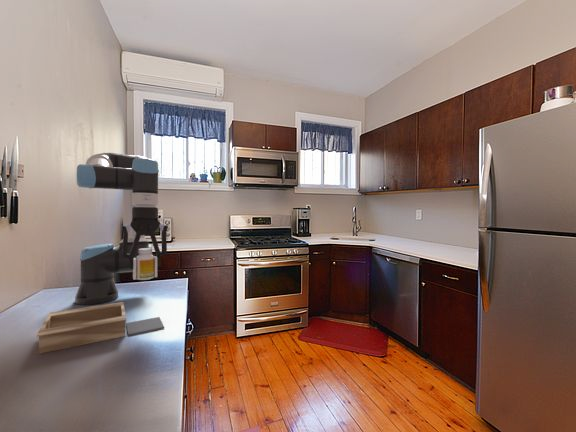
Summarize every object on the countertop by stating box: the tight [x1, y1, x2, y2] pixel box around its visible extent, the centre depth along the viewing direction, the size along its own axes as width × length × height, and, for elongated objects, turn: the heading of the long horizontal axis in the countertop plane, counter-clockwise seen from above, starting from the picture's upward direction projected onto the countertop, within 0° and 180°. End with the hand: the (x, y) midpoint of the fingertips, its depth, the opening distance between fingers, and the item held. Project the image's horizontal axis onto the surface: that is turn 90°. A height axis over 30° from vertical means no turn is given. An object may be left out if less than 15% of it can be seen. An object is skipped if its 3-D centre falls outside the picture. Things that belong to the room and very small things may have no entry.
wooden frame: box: [36, 301, 127, 355], centre depth 82 cm, size 19×20×6 cm
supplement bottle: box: [136, 247, 155, 281], centre depth 89 cm, size 5×5×10 cm
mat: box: [125, 316, 165, 337], centre depth 89 cm, size 10×10×1 cm
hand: (145, 277), depth 89 cm, fingers closed on supplement bottle, 5 cm apart
